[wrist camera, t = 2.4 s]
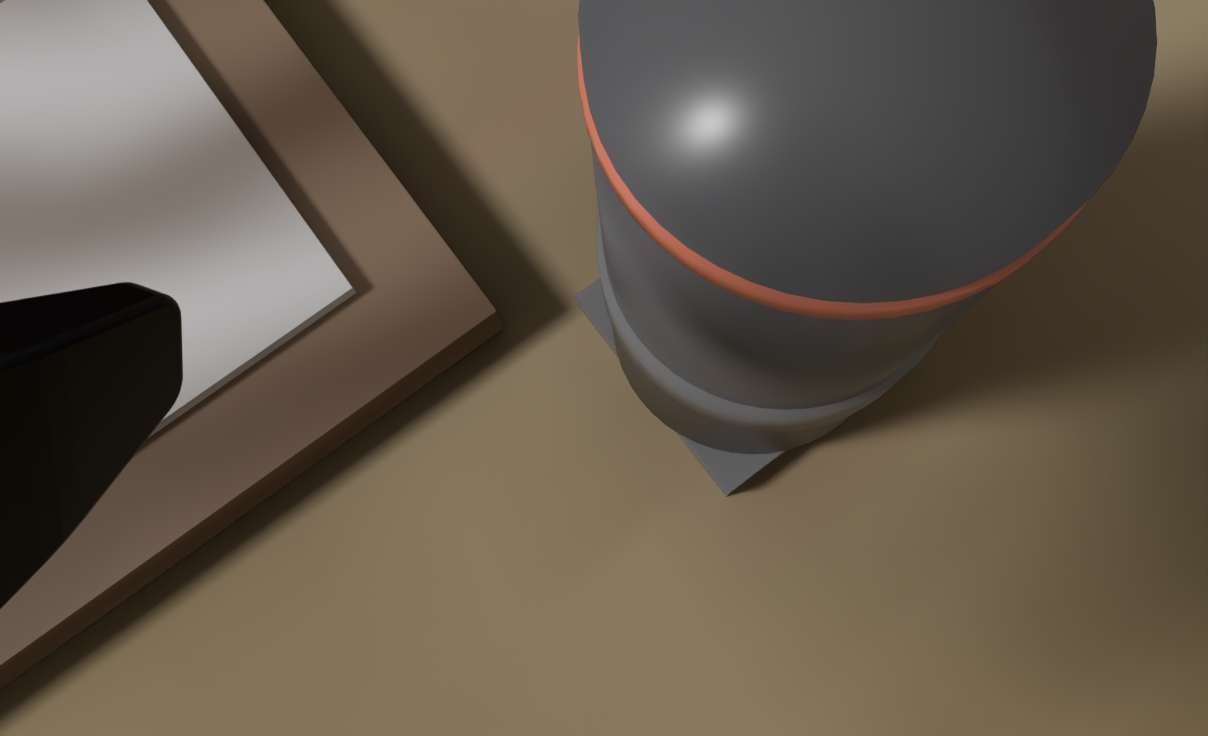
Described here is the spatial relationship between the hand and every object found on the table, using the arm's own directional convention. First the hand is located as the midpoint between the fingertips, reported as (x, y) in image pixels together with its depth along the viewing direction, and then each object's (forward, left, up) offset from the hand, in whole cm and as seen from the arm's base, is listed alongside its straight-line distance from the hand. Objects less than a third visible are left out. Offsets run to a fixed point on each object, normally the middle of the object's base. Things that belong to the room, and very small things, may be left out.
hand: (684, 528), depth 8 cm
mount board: (+13, +7, -12) cm, 19 cm away
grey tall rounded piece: (+3, -4, -12) cm, 13 cm away
